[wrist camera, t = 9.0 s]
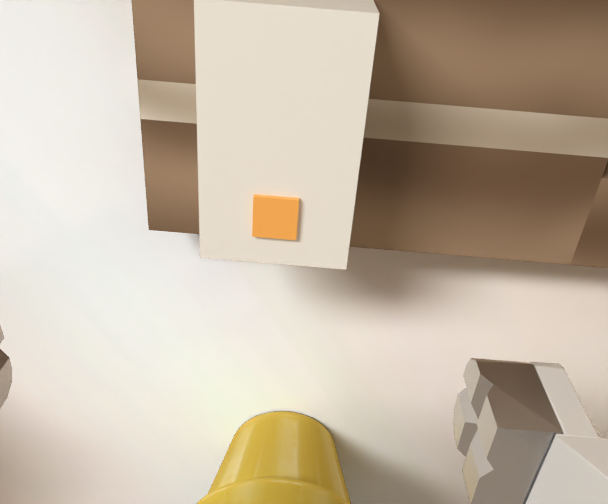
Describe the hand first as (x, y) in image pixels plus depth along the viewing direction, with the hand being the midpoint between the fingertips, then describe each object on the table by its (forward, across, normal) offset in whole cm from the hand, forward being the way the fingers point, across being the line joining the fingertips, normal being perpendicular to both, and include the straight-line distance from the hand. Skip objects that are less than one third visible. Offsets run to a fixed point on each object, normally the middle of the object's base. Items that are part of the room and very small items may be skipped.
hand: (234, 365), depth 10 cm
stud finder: (+15, 0, 0) cm, 15 cm away
